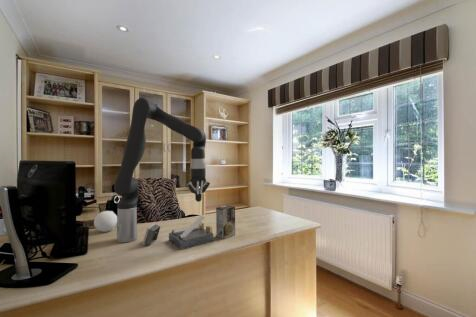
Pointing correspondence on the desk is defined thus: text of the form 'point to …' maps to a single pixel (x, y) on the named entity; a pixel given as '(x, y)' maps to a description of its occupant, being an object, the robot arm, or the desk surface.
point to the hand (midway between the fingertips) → (198, 201)
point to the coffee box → (225, 221)
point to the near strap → (191, 227)
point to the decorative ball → (105, 221)
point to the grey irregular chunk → (151, 234)
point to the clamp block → (192, 237)
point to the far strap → (186, 229)
